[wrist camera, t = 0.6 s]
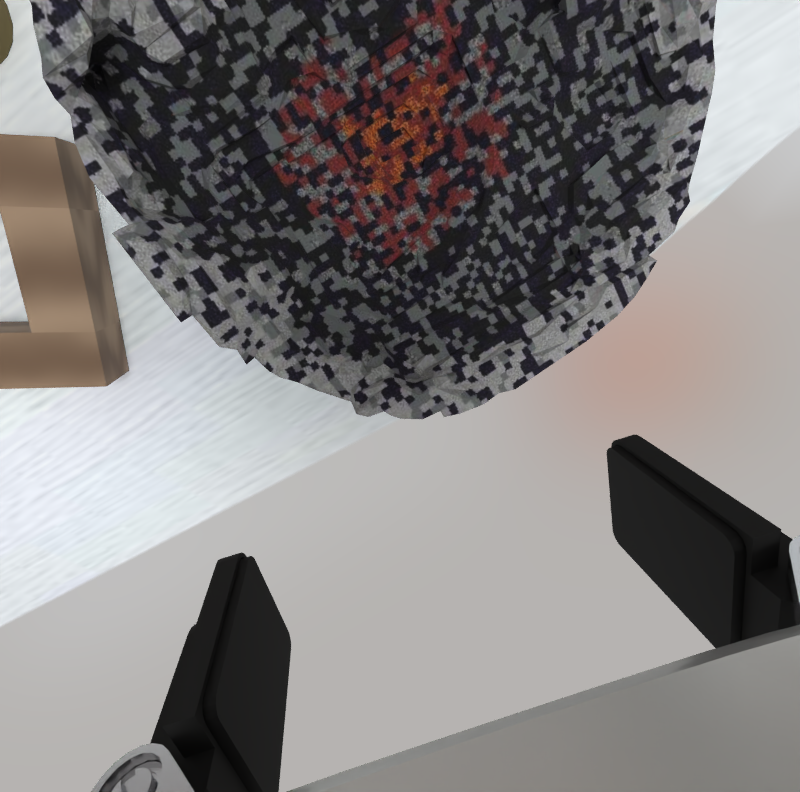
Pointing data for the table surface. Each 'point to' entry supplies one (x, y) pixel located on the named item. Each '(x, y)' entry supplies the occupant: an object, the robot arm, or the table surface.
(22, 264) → the socket block
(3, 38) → the olive-brown rounded peg
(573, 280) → the bowl
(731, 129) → the table surface
